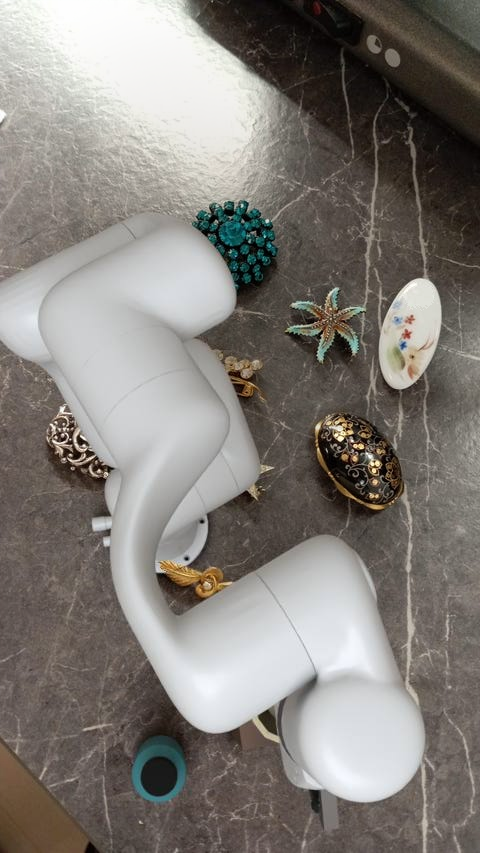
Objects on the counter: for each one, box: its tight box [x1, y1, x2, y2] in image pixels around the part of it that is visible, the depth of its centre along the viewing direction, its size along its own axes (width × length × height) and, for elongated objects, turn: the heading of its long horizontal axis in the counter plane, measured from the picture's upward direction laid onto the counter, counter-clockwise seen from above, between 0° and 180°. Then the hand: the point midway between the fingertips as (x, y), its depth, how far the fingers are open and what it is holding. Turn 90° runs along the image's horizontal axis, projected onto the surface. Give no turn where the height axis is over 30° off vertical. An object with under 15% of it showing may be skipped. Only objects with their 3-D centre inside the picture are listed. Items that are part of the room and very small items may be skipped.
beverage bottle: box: [131, 734, 188, 803], centre depth 108 cm, size 6×7×20 cm
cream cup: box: [249, 710, 280, 743], centre depth 95 cm, size 7×7×10 cm
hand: (299, 708), depth 79 cm, fingers open, 9 cm apart
